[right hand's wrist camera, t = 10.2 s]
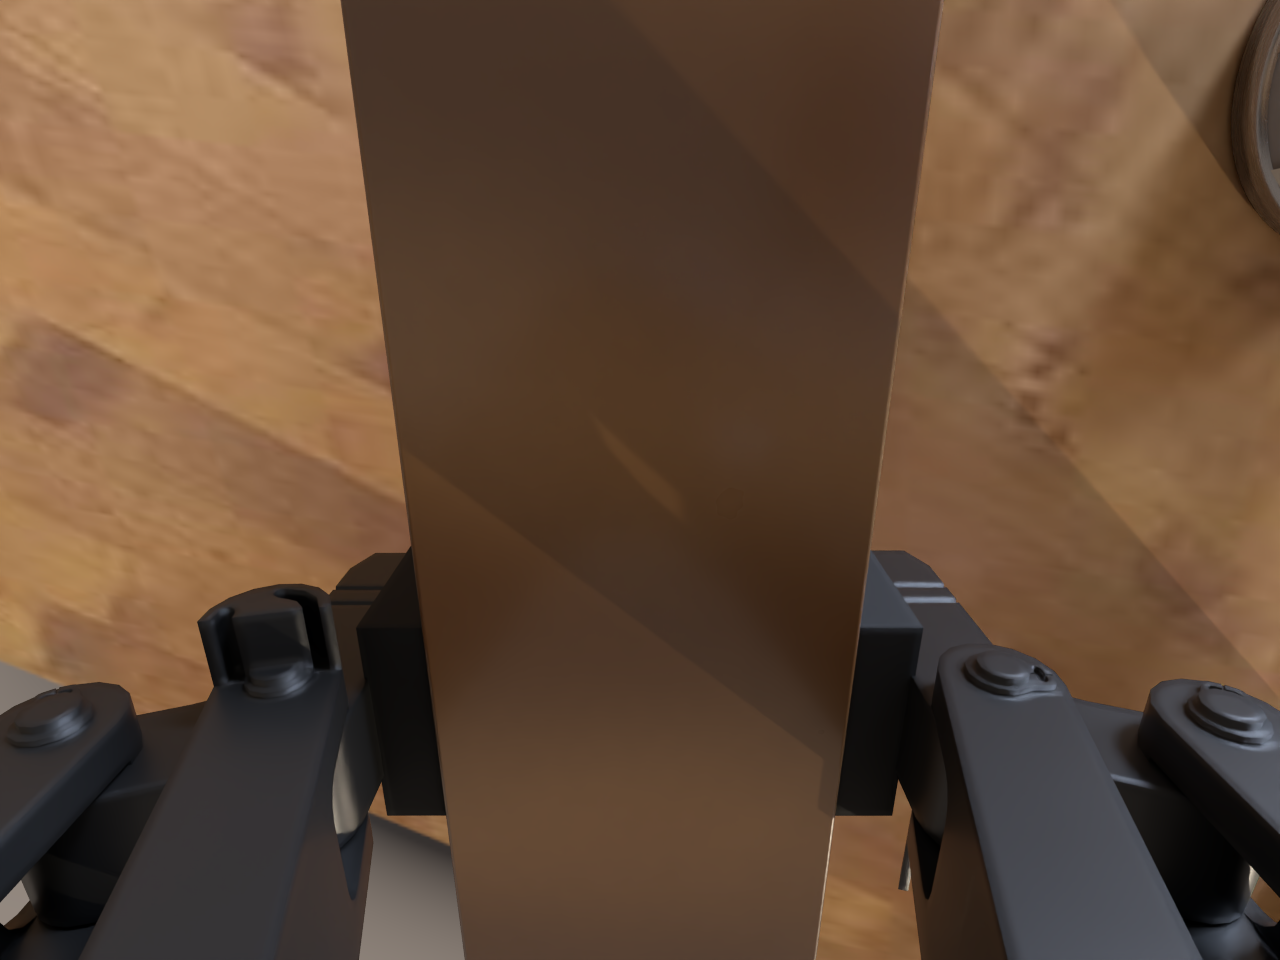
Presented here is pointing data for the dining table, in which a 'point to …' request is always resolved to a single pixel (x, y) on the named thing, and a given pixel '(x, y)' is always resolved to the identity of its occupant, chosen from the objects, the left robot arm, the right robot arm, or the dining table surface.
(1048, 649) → the dining table surface
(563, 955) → the post
